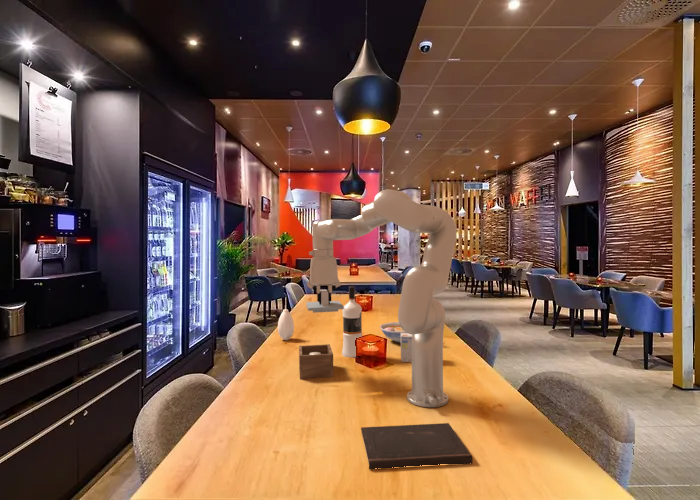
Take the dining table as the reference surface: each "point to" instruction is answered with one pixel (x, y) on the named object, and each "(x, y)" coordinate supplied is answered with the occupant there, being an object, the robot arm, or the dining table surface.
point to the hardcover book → (413, 446)
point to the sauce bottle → (285, 325)
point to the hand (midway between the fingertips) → (324, 303)
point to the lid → (324, 304)
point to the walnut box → (315, 361)
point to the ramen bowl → (392, 331)
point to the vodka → (351, 325)
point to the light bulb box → (406, 347)
